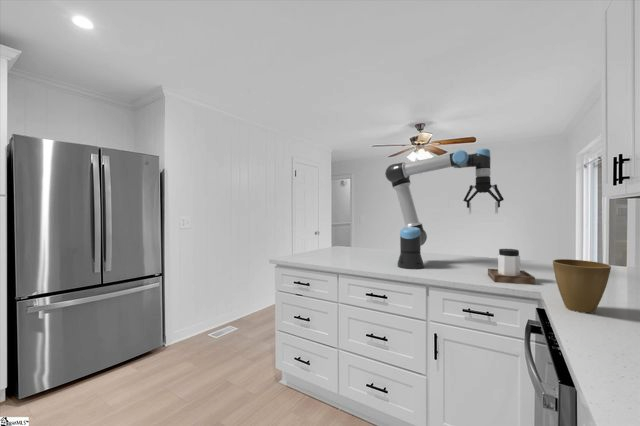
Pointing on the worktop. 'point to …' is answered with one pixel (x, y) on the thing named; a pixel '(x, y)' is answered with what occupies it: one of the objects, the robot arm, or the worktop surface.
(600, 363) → the worktop surface
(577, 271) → the plant pot
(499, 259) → the jar
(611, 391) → the worktop surface
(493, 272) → the wooden tray
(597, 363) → the worktop surface
